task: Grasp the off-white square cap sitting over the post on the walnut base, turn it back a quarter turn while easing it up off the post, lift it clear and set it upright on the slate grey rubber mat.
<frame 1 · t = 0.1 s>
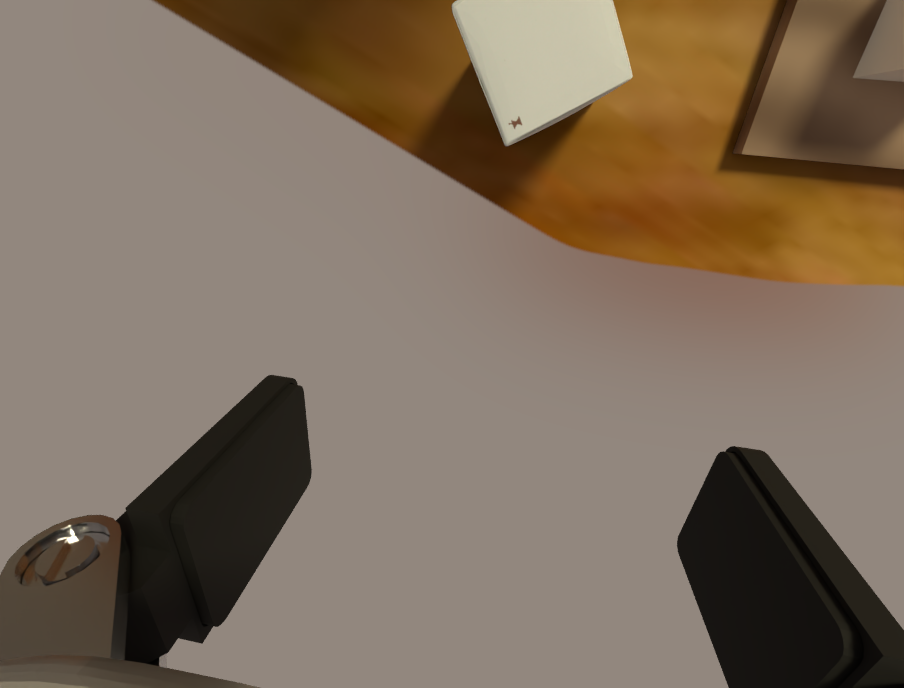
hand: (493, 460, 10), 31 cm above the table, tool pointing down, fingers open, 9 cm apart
supplement box: (535, 76, 32), on the table
cap post: (903, 35, 28), on the table
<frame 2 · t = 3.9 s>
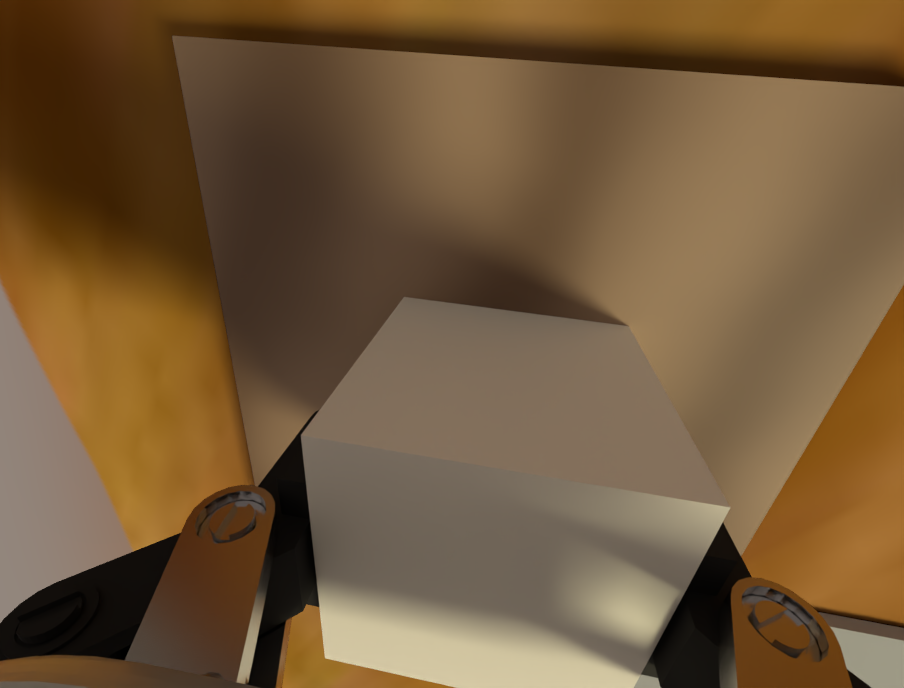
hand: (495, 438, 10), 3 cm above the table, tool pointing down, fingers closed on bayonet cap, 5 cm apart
bayonet cap: (498, 403, 12), point 2 cm above the table, touching cap post, gripper
cap post: (501, 376, 13), on the table
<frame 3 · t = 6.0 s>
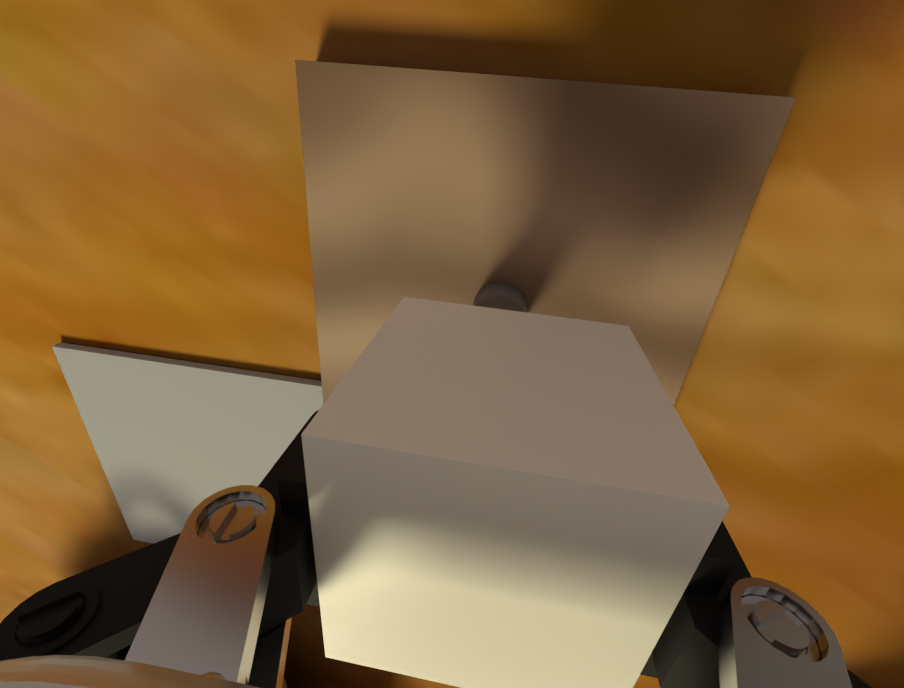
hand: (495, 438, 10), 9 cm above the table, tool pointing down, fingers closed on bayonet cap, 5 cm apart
rubber mat: (220, 470, 26), on the table
bayonet cap: (498, 403, 12), point 8 cm above the table, touching gripper
cap post: (501, 294, 18), on the table
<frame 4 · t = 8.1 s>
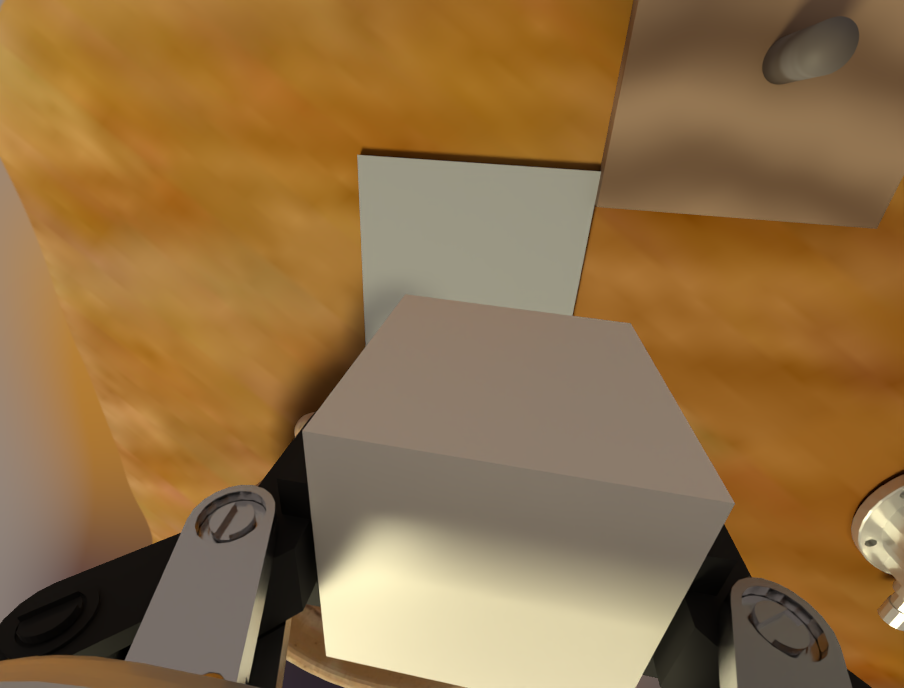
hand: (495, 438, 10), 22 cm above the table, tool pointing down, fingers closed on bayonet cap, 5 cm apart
ceramic bowl: (402, 512, 44), on the table
rubber mat: (467, 278, 31), on the table
bayonet cap: (500, 401, 12), point 20 cm above the table, touching gripper
cap post: (771, 64, 23), on the table
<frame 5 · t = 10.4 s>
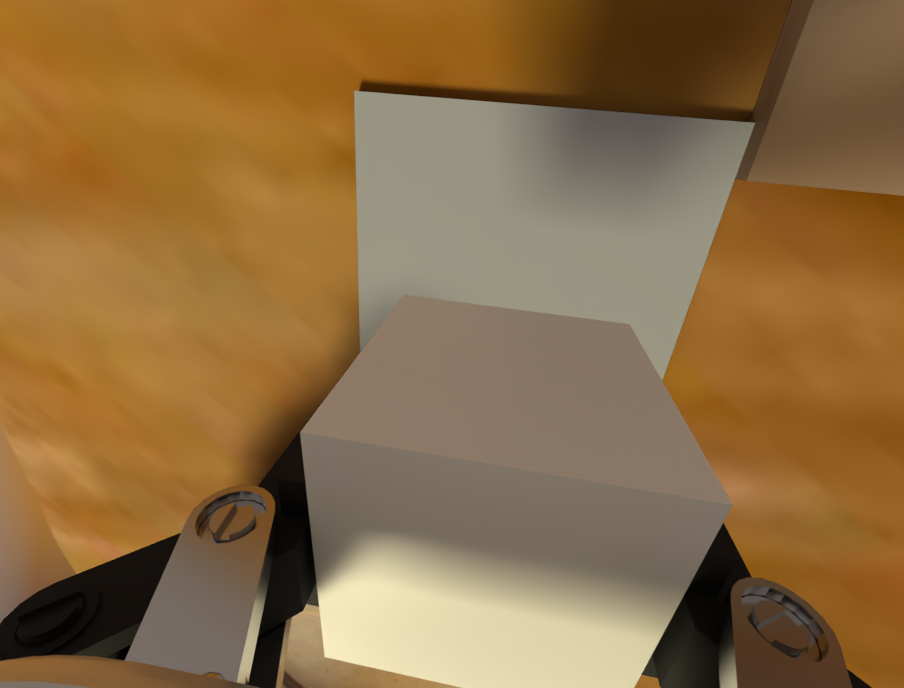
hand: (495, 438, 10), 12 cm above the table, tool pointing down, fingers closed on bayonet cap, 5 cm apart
ceramic bowl: (404, 589, 33), on the table
rubber mat: (515, 290, 21), on the table
bayonet cap: (499, 401, 12), point 10 cm above the table, touching gripper
when the fingers open (3 cm above the table, at t = 12.4 s): bayonet cap drops 1 cm, resting on rubber mat.
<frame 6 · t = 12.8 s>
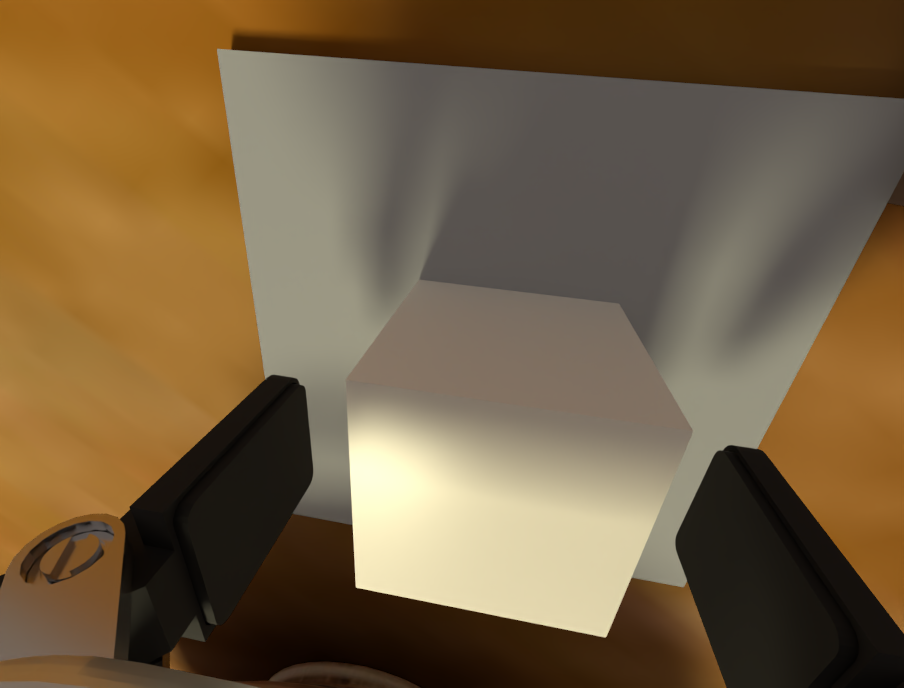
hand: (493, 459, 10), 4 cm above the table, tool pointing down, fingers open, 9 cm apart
rubber mat: (501, 368, 13), on the table
bayonet cap: (503, 376, 13), resting on rubber mat
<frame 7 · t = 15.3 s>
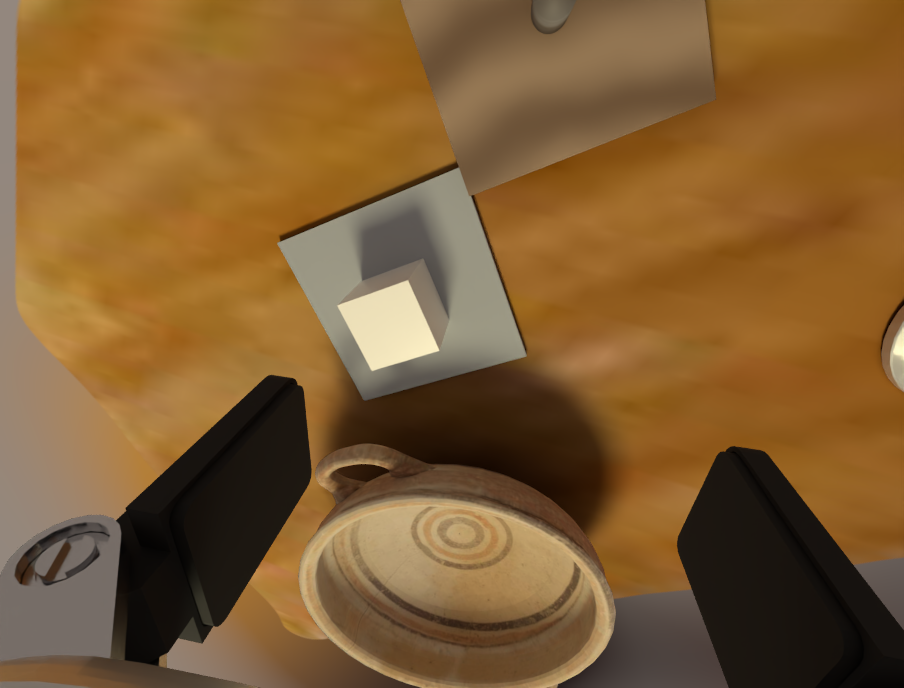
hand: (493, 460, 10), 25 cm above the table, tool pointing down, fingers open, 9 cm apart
ceramic bowl: (460, 519, 47), on the table
rubber mat: (406, 299, 35), on the table
bayonet cap: (405, 300, 35), resting on rubber mat
cap post: (547, 17, 26), on the table
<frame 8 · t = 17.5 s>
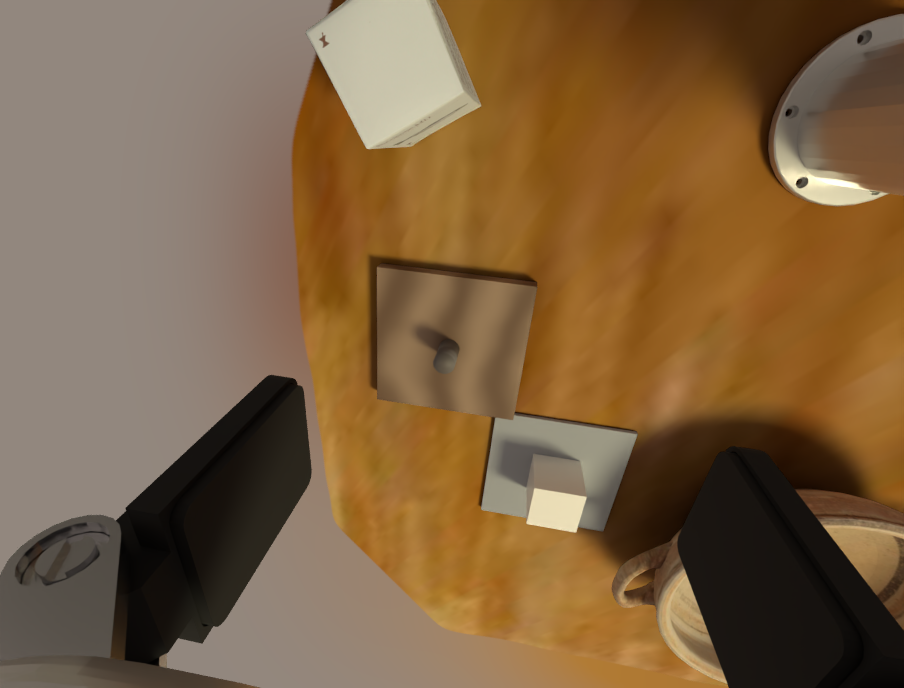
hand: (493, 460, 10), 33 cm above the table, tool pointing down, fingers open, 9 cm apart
supplement box: (427, 85, 36), on the table
ceramic bowl: (756, 536, 52), on the table
rubber mat: (552, 472, 52), on the table
bayonet cap: (552, 474, 51), resting on rubber mat
cap post: (451, 342, 46), on the table
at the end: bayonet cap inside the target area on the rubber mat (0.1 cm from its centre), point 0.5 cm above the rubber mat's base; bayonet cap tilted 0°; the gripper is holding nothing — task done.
